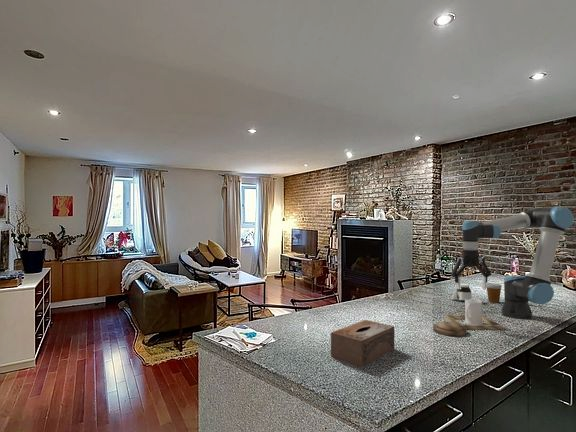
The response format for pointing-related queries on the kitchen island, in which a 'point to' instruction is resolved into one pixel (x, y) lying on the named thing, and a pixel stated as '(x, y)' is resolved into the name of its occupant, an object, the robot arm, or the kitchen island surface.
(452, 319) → the square wooden frame
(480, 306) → the mug
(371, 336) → the tissue box cover
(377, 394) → the kitchen island surface
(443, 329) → the brown wooden saucer
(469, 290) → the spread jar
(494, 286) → the disposable coffee cup
